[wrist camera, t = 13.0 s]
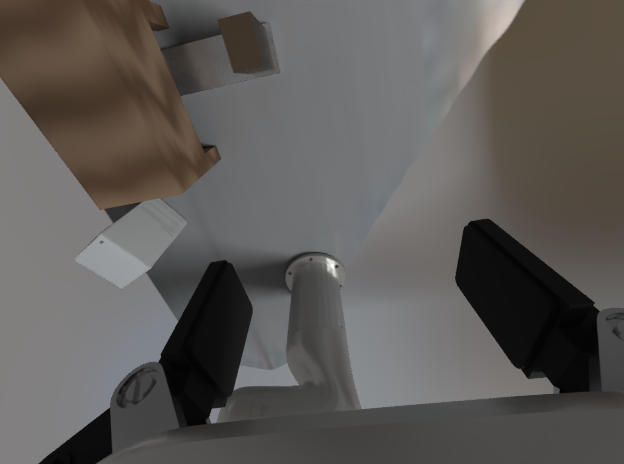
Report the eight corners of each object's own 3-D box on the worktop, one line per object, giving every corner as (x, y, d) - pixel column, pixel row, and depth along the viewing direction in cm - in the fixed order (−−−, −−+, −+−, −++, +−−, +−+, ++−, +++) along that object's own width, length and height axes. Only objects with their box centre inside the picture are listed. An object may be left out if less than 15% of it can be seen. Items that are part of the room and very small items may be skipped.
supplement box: (129, 214, 43) (69, 259, 32) (154, 191, 41) (99, 232, 30) (164, 241, 46) (120, 291, 36) (189, 222, 44) (151, 269, 33)
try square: (280, 72, 32) (269, 71, 23) (113, 111, 34) (48, 123, 26) (270, 23, 29) (253, 2, 21) (89, 69, 32) (8, 67, 23)
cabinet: (221, 158, 38) (182, 194, 26) (162, 170, 39) (100, 209, 27) (156, -4, 28) (48, -60, 16) (79, 18, 29) (-73, -20, 17)
